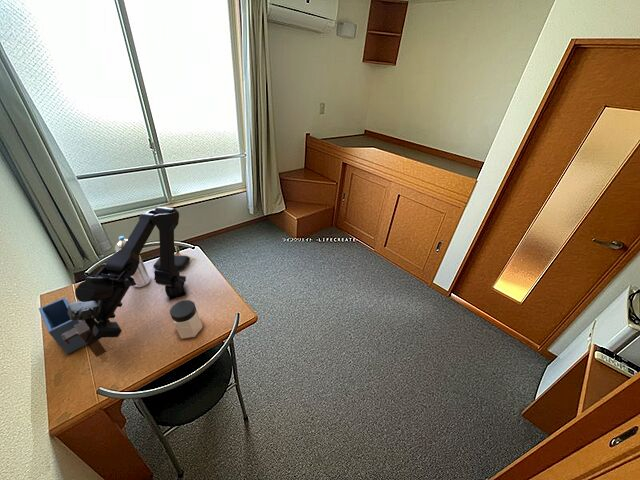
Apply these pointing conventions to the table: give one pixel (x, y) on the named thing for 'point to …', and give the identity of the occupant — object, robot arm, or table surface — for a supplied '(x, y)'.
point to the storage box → (61, 324)
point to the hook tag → (84, 337)
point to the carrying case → (179, 262)
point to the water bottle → (141, 272)
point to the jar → (186, 318)
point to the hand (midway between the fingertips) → (84, 340)
